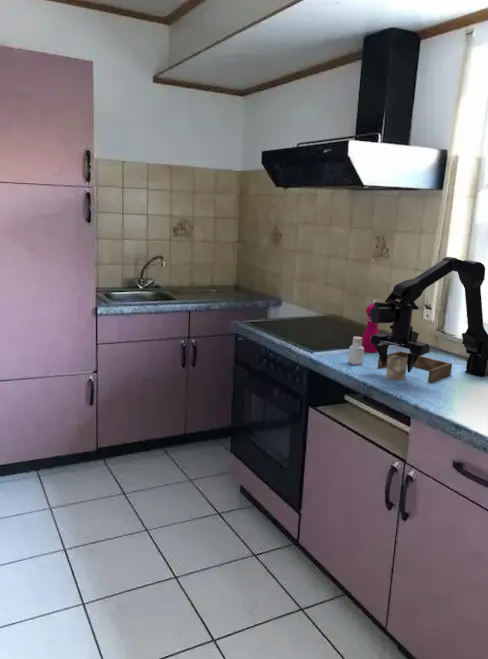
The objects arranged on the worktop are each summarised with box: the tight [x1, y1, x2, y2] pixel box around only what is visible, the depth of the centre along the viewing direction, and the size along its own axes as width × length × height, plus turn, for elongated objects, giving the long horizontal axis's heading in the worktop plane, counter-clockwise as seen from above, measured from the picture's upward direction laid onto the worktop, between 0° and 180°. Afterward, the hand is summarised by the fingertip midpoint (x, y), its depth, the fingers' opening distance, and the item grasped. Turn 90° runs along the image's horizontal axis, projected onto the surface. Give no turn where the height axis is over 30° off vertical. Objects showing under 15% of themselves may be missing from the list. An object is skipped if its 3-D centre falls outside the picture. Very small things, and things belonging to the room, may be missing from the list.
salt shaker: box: [348, 336, 365, 366], centre depth 197 cm, size 4×4×10 cm
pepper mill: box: [361, 299, 380, 354], centre depth 215 cm, size 7×7×20 cm
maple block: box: [385, 355, 408, 382], centre depth 183 cm, size 4×4×7 cm
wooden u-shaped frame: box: [377, 350, 453, 384], centre depth 192 cm, size 20×14×4 cm
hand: (396, 368), depth 183 cm, fingers open, 9 cm apart
